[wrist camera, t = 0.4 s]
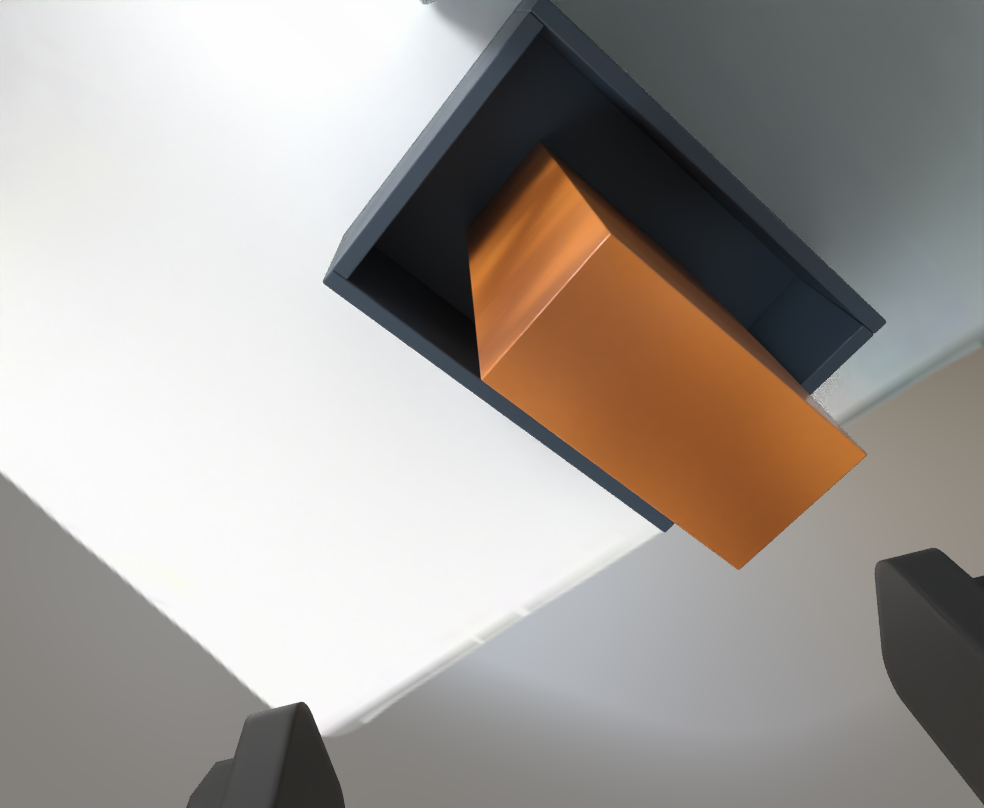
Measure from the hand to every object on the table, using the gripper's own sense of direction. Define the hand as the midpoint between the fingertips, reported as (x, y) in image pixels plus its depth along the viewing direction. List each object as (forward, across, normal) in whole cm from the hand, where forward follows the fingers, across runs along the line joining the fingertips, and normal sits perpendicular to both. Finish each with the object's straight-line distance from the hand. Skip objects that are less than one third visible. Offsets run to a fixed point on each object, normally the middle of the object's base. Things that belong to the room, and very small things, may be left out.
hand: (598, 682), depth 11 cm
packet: (+24, -4, -1) cm, 24 cm away
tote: (+25, -4, -1) cm, 25 cm away
